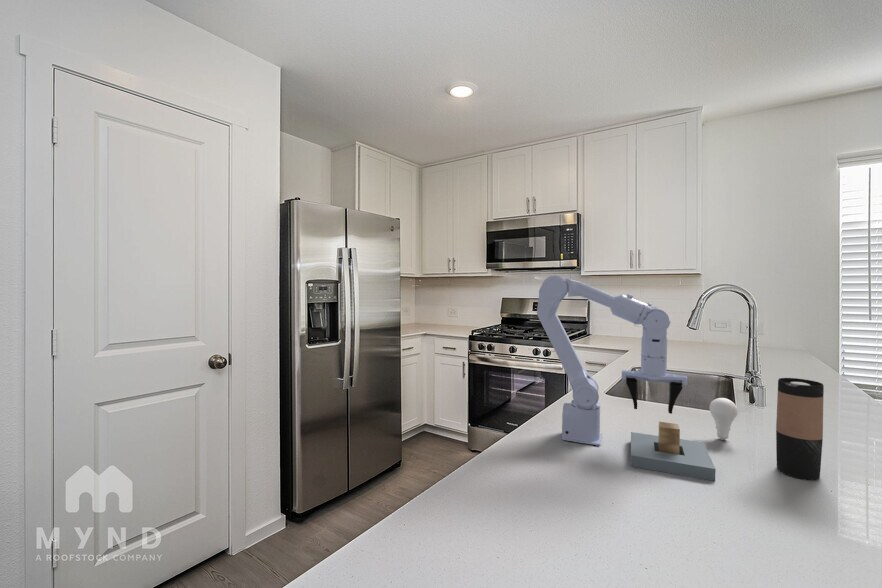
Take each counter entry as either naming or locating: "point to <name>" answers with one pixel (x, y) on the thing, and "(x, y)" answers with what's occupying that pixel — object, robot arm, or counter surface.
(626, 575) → the counter surface
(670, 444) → the peg
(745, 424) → the counter surface
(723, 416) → the lightbulb
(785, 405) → the travel mug
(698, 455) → the socket block
